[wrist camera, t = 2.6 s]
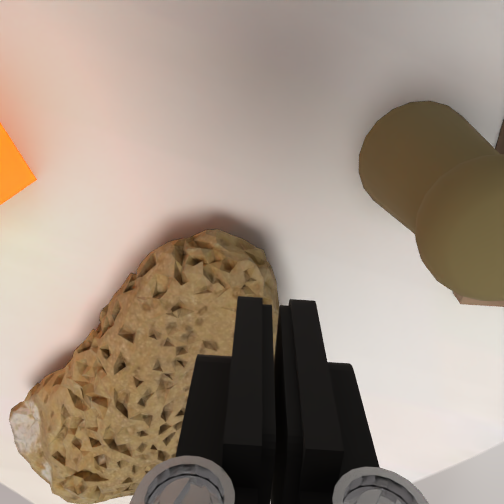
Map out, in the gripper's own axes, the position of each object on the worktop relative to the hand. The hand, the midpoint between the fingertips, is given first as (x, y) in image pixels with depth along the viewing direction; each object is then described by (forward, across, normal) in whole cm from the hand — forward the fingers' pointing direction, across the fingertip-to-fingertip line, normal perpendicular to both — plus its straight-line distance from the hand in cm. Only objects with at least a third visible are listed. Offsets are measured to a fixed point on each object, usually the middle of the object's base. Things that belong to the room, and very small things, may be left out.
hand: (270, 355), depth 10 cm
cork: (+16, -8, -1) cm, 18 cm away
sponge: (+17, +6, +13) cm, 22 cm away
